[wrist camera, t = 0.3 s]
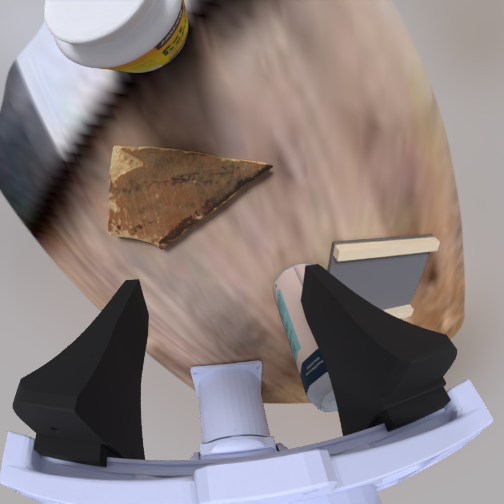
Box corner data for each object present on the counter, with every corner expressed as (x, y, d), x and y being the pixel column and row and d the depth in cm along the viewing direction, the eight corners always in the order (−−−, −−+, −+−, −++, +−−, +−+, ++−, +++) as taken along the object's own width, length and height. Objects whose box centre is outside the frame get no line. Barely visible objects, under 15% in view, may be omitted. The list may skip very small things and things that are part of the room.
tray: (404, 307, 31) (410, 316, 30) (316, 324, 30) (321, 334, 29) (431, 234, 26) (440, 242, 25) (332, 241, 25) (339, 251, 23)
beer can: (331, 281, 27) (388, 387, 17) (290, 310, 28) (329, 419, 18) (306, 250, 25) (367, 365, 15) (261, 282, 26) (296, 405, 16)
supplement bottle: (183, 73, 16) (161, 62, 7) (101, 75, 15) (15, 78, 6) (196, -2, 13) (192, -75, 4) (112, 0, 12) (43, -52, 3)
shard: (269, 159, 20) (274, 166, 19) (245, 250, 24) (248, 263, 23) (117, 138, 18) (110, 144, 16) (112, 235, 21) (106, 247, 20)
